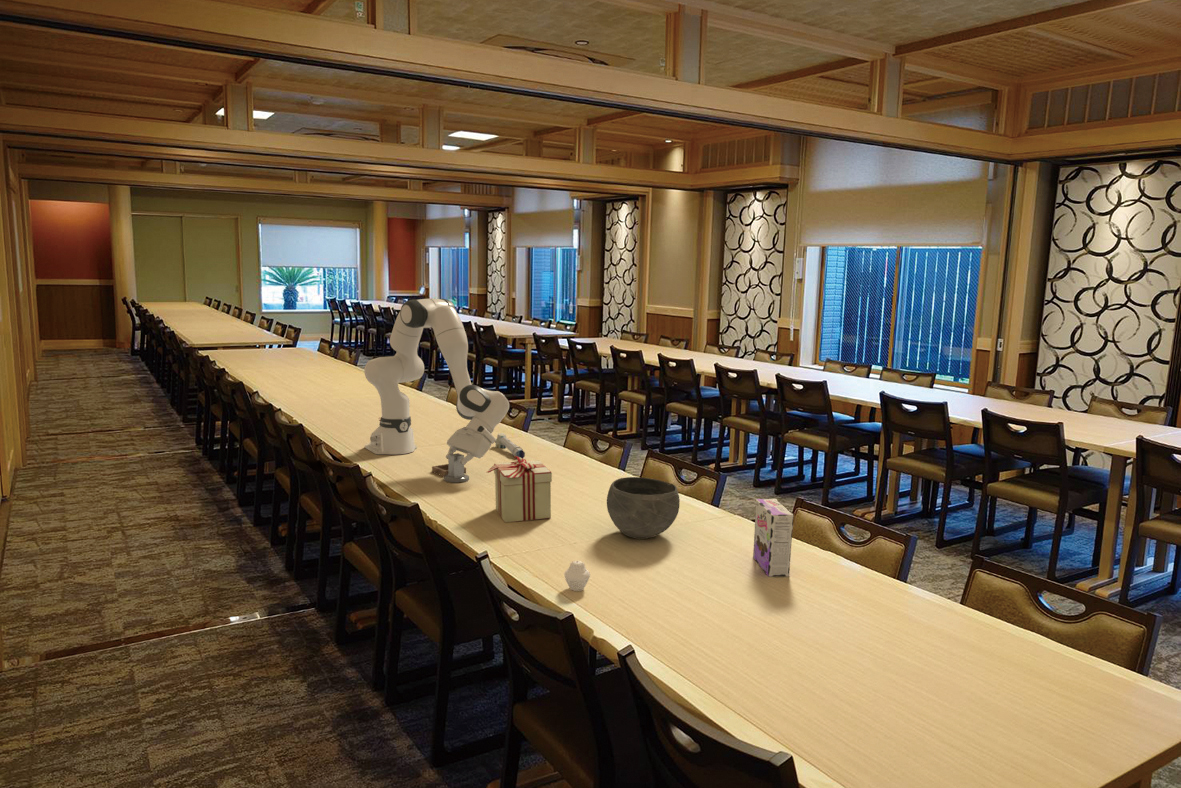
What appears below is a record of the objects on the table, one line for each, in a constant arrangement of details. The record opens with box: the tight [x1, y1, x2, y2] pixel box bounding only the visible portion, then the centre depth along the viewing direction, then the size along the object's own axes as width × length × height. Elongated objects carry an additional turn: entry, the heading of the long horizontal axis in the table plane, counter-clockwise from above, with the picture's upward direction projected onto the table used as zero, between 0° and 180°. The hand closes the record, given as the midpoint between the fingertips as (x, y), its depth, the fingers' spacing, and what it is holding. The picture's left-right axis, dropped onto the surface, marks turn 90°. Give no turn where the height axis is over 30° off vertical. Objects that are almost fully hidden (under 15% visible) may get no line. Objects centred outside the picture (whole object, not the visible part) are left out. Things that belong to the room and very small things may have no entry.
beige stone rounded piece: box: [564, 560, 591, 592], centre depth 191 cm, size 6×6×7 cm
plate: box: [443, 473, 470, 484], centre depth 286 cm, size 9×9×1 cm
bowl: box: [606, 476, 680, 540], centre depth 229 cm, size 21×21×15 cm
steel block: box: [447, 452, 465, 479], centre depth 285 cm, size 4×4×8 cm
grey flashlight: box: [494, 432, 526, 459], centre depth 329 cm, size 5×7×25 cm
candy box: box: [752, 498, 794, 578], centre depth 207 cm, size 14×6×16 cm, turn 5°
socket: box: [431, 463, 467, 477], centre depth 295 cm, size 9×9×2 cm
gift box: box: [486, 456, 553, 523], centre depth 246 cm, size 17×18×17 cm
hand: (454, 461), depth 284 cm, fingers open, 8 cm apart
